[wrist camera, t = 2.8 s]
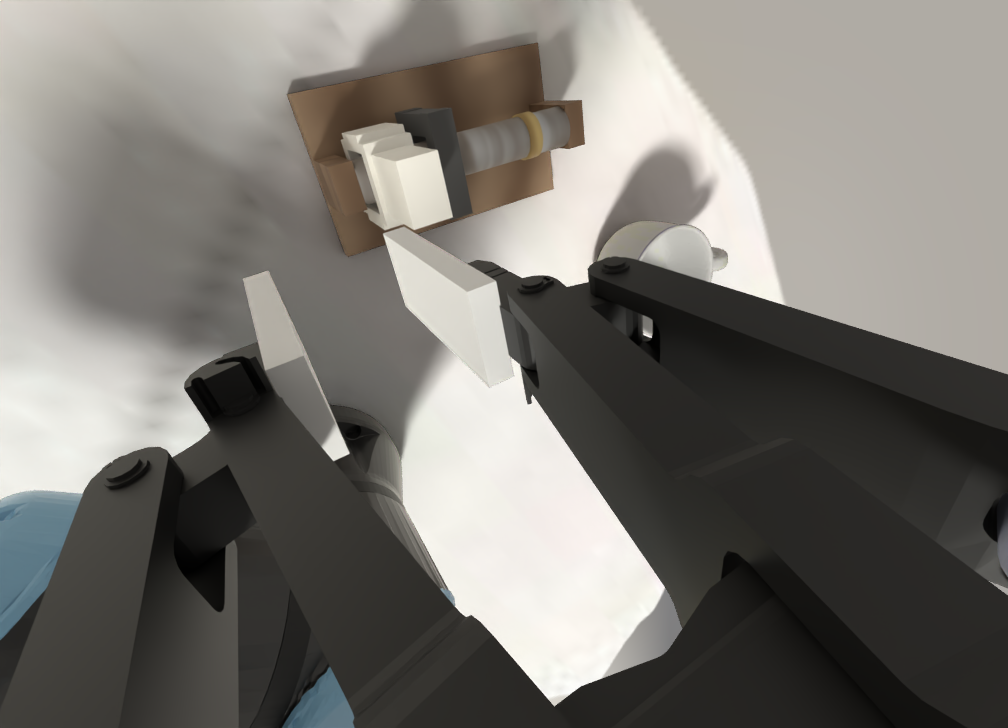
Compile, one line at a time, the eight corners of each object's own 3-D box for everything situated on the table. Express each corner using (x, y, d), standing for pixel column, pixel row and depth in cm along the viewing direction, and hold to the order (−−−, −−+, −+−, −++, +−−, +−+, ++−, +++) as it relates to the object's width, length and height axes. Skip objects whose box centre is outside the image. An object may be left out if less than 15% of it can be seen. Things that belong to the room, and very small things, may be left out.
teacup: (573, 317, 52) (624, 346, 46) (585, 213, 47) (643, 230, 41) (667, 300, 58) (722, 323, 52) (685, 207, 53) (749, 220, 47)
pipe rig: (345, 253, 38) (367, 276, 32) (286, 94, 32) (303, 92, 26) (547, 187, 44) (592, 197, 39) (530, 44, 38) (581, 34, 33)
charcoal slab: (418, 205, 37) (451, 220, 32) (394, 112, 33) (427, 113, 29) (437, 199, 37) (472, 213, 33) (415, 107, 34) (451, 107, 29)
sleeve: (365, 217, 35) (414, 249, 27) (338, 132, 32) (383, 140, 24) (404, 205, 36) (461, 233, 28) (380, 122, 33) (437, 127, 25)
